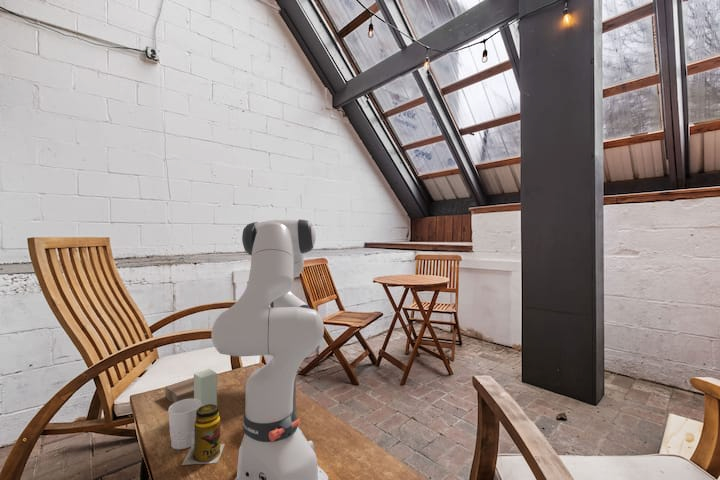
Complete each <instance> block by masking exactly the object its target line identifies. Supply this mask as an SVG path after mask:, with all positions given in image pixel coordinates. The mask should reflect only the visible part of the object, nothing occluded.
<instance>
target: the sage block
mask: <svg viewBox="0 0 720 480" xmlns="http://www.w3.org/2000/svg"><path fill="white" fill-rule="evenodd" d="M217 375H218V373H217V372H216V371H214V370H212V369H210V368H209V369H204V370H200V371H199V372H195V373H193V378H194V399H198V400H200V401H201V407H202V406H204V405H208V404H213V405H216V406H218V380H217V379H218V376H217Z"/></svg>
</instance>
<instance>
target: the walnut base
mask: <svg viewBox="0 0 720 480" xmlns="http://www.w3.org/2000/svg"><path fill="white" fill-rule="evenodd" d="M164 391H165V394H164V395H165V398H166V399H167V400H168V401H170V402H171V403H172V404H174V403H176V402H178V401H181V400H184V399H194V377H191V378H188V379H185V380H182V381H179V382H175V383H173V384H169V385H166V386H165V390H164Z"/></svg>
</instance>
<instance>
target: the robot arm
mask: <svg viewBox="0 0 720 480" xmlns="http://www.w3.org/2000/svg"><path fill="white" fill-rule="evenodd" d="M315 231H316V230H315V229H314V226H313V224H312V222H310V221H309V220H307V219H298V220H297V219H295V220H293V219H273V220H267V221H266V220H265V221H259V222H257V221H255V222H249V223H247V224H246V226H245V227H244V228H243V230H242V234H241V235H242V236H241V242H242V246H243V249H244V251H245V252H246V253H247V254H248V255H250V256H251V259H250V269H249V275H248V281H247V285H246V287H245V290H244V292H243V293H242V295H241V296H240V297H239V299H238V300H236V302H235V303H234V304H233V305H231V306H230V307H229V308H228V309H227V310H225V311H223V312H221V313H220V314H219V315H218V317H217V318H216V319H215V321H214V322H213V326H212V329H211V334H210V335H211V342H212V344H213V347H214V348H215V350H216V351H217V352H218V353H219V355H220V354H221V355H226V356H231V357H232V356H233V357H257V356H272V358H271V360H270V361H269V362H268V363H266V364H265V365H263V366H261V367H259V368H258V369H256V370H255V371H253V372H252V373H251V374H250V375H249V377H248V379H247V380H246V383H245V386H244V387H245V395H244V398H245V402H244V403H245V407H244V408H245V411H244V413H243V419H242V427H243V433H244V435H243V438H242V440H241V443H240V445H239V449H238V457H237V459H238V460H237V470H236V477H235V478H234V480H329V476H328V474H327V473H326V472H325V471H324V470H323V468H321V467H320V465H318V457H317V454H316V452H315V450H314V449H315V445H314V443H313V441H312V440H307V438H306V437H305V435H304V434H303V431H302V430H301V429H300V427H299V425H300V424H301V422H299V421H301V418H298V417H297V411H296V412H295V409H294V406H293V390H294V381H295V376H297V373H298V370H299V368H300V365H302V363H303V362H304V360H305V358H307V356H309V355H310V354H311V353H312V352H313V351H315V350H316V349H317V348H318V347H319V345H320V344H321V343H322V340H323V338H324V335H325V334H324V332H325V325H324V320H323V318H322V315H320V313H319V312H318V310H316V309H313V308H311V307H310V306H309V305H308V304H307V303H306V302H305V301H303V300H302V299H300V298H299V297H298V296H296V295H295V294H294V293H293V292H292V291H291V289H292V288H293V285H294V279H295V278H297V277H298V276H300V274H301V273H302V272H303V271H304V268H305V267H304V266H305V257H304V254H307V253H308V252H311V251H312V250H313V249H314V247H315V246H314V245H315V243H316V240H317V239H316V232H315Z"/></svg>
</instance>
